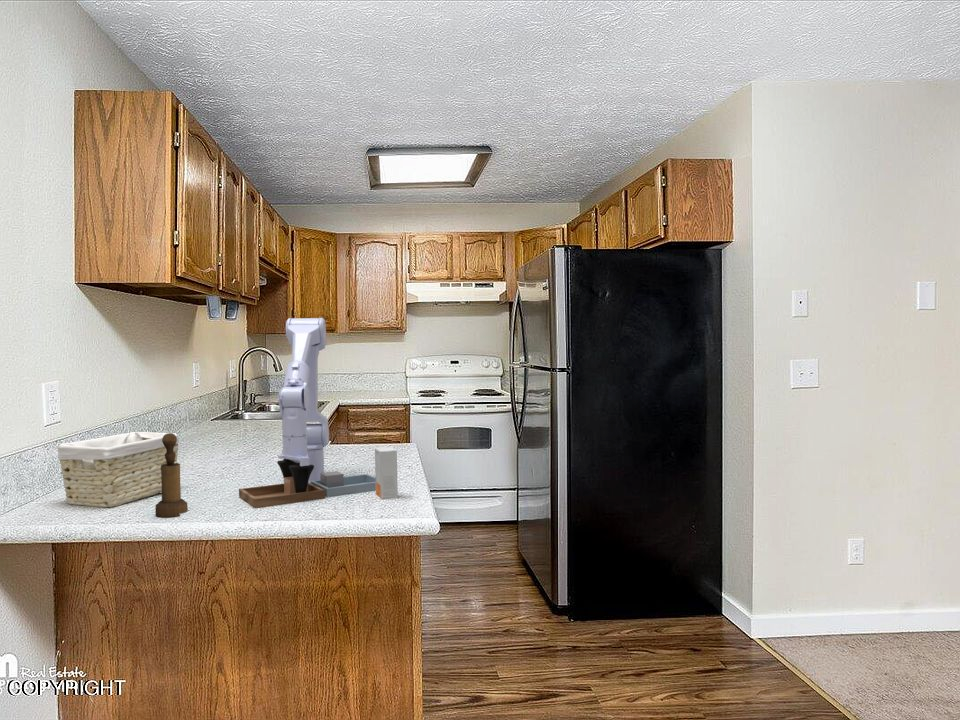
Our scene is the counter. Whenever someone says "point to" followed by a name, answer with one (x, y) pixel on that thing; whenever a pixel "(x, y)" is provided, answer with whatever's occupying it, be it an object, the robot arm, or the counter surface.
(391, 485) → the skincare box
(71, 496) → the storage basket
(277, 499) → the walnut bin
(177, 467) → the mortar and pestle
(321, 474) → the grey cube
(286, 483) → the russet cube
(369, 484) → the slate tray
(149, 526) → the counter surface
